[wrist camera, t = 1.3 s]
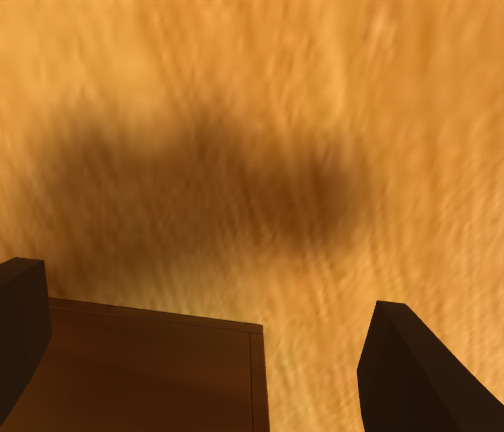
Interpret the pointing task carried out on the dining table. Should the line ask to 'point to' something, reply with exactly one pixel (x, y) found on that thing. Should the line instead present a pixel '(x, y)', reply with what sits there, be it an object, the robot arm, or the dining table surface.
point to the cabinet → (144, 374)
